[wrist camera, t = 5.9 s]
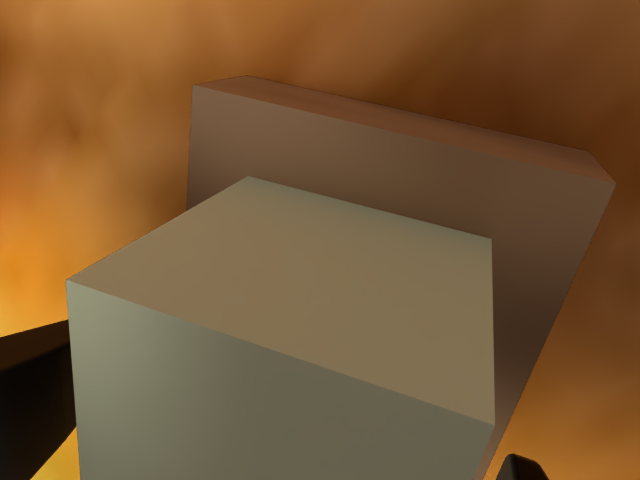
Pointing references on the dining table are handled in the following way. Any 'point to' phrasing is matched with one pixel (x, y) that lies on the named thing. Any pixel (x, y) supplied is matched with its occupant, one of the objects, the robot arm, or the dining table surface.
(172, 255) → the cube
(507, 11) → the dining table surface
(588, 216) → the base
